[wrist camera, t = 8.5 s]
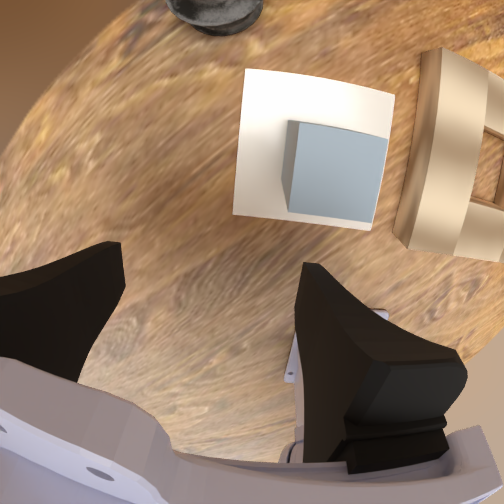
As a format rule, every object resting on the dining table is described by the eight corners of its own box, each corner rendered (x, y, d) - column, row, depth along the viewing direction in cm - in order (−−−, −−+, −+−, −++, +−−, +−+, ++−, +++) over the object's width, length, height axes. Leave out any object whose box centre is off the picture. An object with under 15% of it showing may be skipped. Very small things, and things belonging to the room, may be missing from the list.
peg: (339, 186, 20) (371, 223, 13) (281, 178, 20) (288, 212, 13) (348, 129, 18) (388, 139, 12) (287, 119, 18) (299, 122, 12)
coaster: (368, 228, 21) (370, 230, 21) (233, 212, 21) (232, 214, 21) (392, 95, 17) (395, 95, 17) (246, 69, 17) (245, 68, 17)
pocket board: (506, 251, 21) (523, 266, 19) (392, 232, 21) (407, 249, 19) (536, 113, 15) (558, 118, 12) (421, 52, 15) (442, 47, 12)
